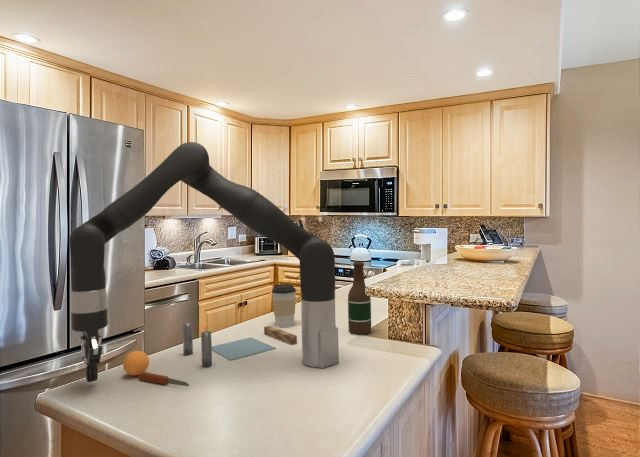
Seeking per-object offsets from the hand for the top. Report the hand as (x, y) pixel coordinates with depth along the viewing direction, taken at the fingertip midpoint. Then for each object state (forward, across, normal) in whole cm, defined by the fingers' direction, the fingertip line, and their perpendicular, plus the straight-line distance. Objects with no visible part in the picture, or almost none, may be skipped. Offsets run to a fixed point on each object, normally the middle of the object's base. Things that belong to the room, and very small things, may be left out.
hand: (91, 380), depth 94 cm
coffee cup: (+2, +13, -65) cm, 66 cm away
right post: (+1, -7, -26) cm, 27 cm away
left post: (+1, +6, -26) cm, 27 cm away
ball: (-2, 0, -10) cm, 10 cm away
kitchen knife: (+2, -11, -13) cm, 17 cm away
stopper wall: (+1, 0, -54) cm, 54 cm away
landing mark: (+1, 0, -40) cm, 40 cm away
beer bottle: (+1, -13, -78) cm, 79 cm away
